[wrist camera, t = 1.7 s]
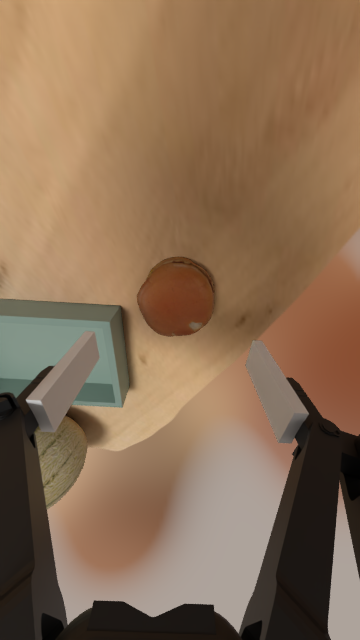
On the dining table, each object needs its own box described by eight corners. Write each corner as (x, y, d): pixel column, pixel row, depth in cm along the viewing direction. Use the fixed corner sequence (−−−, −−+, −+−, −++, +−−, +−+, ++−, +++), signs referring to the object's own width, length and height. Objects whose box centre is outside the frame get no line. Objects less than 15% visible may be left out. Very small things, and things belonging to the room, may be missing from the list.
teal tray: (-53, 295, 26) (-95, 310, 22) (120, 305, 26) (109, 321, 22) (-3, 378, 34) (-28, 399, 30) (129, 385, 34) (122, 407, 30)
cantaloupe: (111, 432, 42) (78, 532, 29) (58, 444, 45) (6, 539, 31) (69, 390, 35) (1, 494, 22) (10, 407, 38) (-81, 508, 25)
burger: (160, 243, 22) (155, 249, 18) (226, 277, 24) (234, 291, 20) (132, 309, 27) (123, 326, 23) (189, 334, 29) (191, 354, 25)
